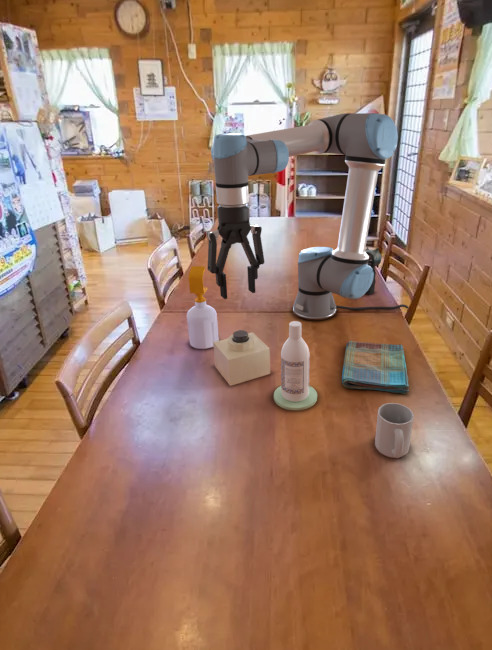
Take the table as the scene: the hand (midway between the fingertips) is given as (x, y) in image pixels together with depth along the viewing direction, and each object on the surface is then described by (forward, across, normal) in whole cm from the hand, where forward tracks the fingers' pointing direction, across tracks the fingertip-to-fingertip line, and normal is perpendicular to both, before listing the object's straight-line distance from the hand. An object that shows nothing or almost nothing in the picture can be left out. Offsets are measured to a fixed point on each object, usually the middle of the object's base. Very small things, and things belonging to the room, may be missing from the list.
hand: (238, 294), depth 117 cm
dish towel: (+23, -33, +17) cm, 44 cm away
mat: (+23, -6, +18) cm, 30 cm away
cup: (+23, -15, +45) cm, 53 cm away
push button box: (+23, 0, 0) cm, 23 cm away
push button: (+13, 0, 0) cm, 13 cm away
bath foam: (+22, -6, +18) cm, 30 cm away
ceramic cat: (+23, -63, -34) cm, 76 cm away
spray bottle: (+23, +4, -21) cm, 31 cm away
